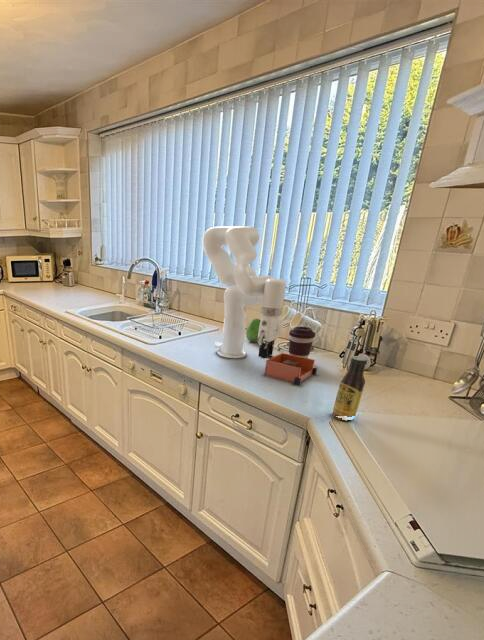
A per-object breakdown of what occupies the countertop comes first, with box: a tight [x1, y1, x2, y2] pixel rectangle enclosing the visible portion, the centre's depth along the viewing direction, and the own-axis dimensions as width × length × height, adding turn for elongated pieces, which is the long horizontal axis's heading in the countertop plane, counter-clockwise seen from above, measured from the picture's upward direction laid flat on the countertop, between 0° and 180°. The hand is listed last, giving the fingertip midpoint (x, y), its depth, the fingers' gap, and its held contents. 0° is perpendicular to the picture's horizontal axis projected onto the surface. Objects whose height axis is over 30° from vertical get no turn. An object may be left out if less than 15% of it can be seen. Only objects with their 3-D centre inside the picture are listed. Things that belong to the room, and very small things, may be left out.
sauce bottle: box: [332, 355, 368, 422], centre depth 118 cm, size 6×6×20 cm
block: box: [282, 360, 299, 367], centre depth 155 cm, size 4×4×4 cm
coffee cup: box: [288, 326, 316, 359], centre depth 167 cm, size 10×10×15 cm
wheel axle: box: [293, 367, 318, 387], centre depth 151 cm, size 2×16×3 cm, turn 134°
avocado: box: [245, 318, 261, 343], centre depth 197 cm, size 8×8×12 cm
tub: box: [260, 342, 316, 384], centre depth 155 cm, size 18×13×11 cm
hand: (265, 355), depth 161 cm, fingers closed on tub, 4 cm apart
